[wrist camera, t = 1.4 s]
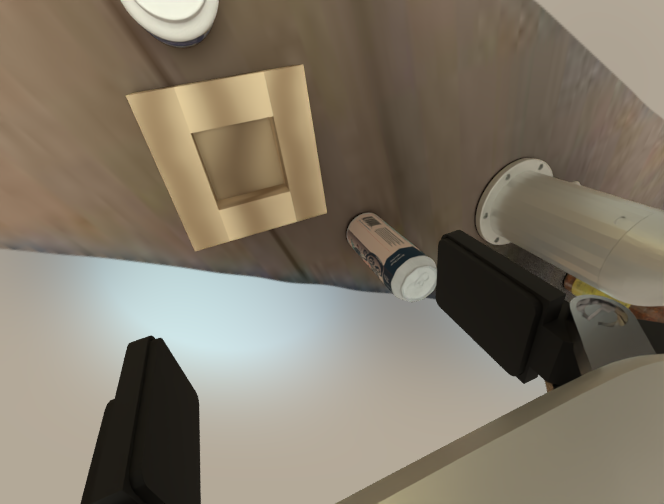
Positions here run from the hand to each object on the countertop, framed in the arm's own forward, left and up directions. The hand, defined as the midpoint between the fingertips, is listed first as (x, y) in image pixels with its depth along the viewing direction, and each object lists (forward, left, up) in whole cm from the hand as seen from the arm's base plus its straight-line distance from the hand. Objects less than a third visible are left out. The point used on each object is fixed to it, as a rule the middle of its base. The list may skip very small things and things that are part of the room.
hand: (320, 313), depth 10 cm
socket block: (0, 0, -23) cm, 23 cm away
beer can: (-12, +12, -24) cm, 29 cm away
